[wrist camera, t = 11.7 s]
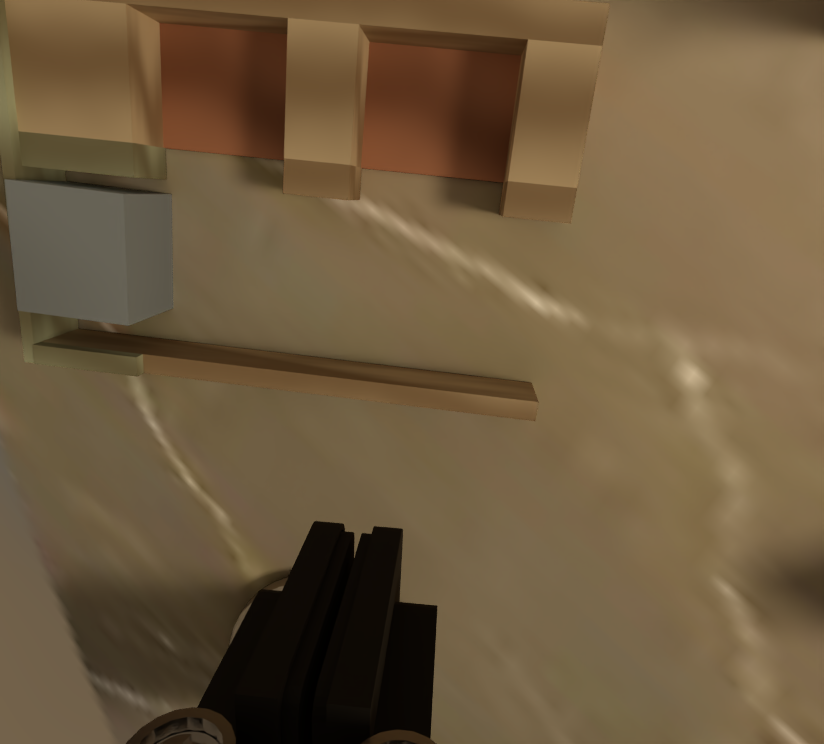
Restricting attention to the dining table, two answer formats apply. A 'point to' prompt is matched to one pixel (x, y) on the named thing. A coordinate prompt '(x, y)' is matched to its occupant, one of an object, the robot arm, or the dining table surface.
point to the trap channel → (300, 134)
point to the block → (90, 250)
